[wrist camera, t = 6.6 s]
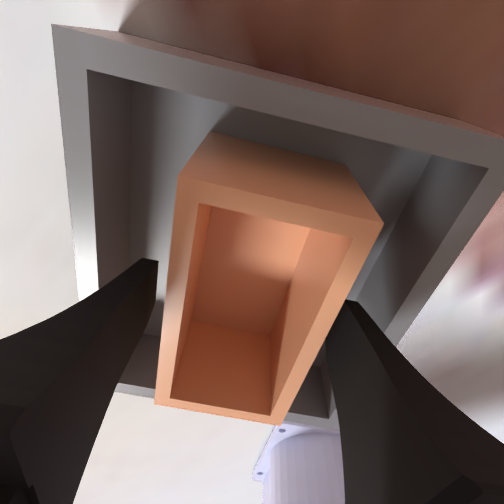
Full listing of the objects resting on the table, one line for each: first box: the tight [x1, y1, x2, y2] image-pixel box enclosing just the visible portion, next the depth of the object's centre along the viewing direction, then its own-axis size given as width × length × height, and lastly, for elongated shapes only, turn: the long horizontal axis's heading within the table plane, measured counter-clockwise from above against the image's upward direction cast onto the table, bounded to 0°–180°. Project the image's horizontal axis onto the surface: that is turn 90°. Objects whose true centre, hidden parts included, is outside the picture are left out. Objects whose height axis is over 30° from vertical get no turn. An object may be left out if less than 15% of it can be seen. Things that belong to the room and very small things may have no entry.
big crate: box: [51, 24, 504, 430], centre depth 14 cm, size 15×13×4 cm
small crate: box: [154, 131, 384, 426], centre depth 13 cm, size 10×5×5 cm, turn 167°
